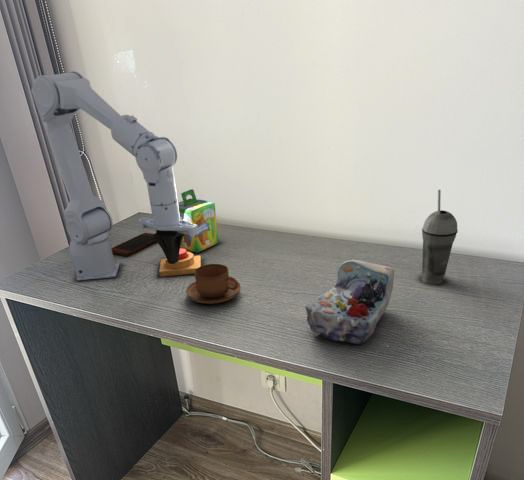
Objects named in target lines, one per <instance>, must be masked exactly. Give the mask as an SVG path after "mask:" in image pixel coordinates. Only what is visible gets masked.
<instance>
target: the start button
mask: <svg viewBox="0 0 524 480" xmlns="http://www.w3.org/2000/svg"><path fill="white" fill-rule="evenodd" d="M187 252H188V250H186V249H182V248H180V251H179V260H183V259H186V258H187Z"/></svg>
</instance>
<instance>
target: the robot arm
mask: <svg viewBox="0 0 524 480" xmlns="http://www.w3.org/2000/svg"><path fill="white" fill-rule="evenodd" d="M33 81H34V82H33V83H32V87H31V90H30V91H31V94H32V97H33V101H34V102H35V105H36V106H35V107H36V109H37V111H38V115H39V117H40V120H41V122H42V125H43V128H44V131H45V133H46V136H47V139H48V142H49V145H50V148H51V151H52V154H53V157H54V159H55V163H56V164H57V168H58V171H59V173H60V177H61V179H62V182H63V184H64V187H65V190H66V193H67V197H68V198H69V202H68V203H67V206H66V208H65V209H64V211H63V215H64V219H65V227H66V231H67V234H68V235H69V237H70V238H71V241H70V243H69V253H70V258H71V261H72V265H73V269H74V273H75V275H76V281H88V280H97V279H98V280H99V279H107V278H116V276H117V274H118V271H119V268H120V265H121V264H120V263H119V262H115V257H114V253H112V249H111V248H112V244H111V241H110V237H109V236H110V235H111V230H112V229H113V226H114V222H113V217H112V215H111V213H110V212H109V210H108V209H107V207H106V205H105V201H103V200H102V199H101V198H98V197H96V196H95V195H94V192H93V189H92V187H91V184H90V181H89V178H88V174H87V172H86V169H85V166H84V162H83V158H82V156H81V153H80V149H79V147H78V143H77V141H76V138H75V135H74V132H73V128H72V126H71V122H72V121H73V118H74V116H75V115H76V114H77V113H78V112H79V111H80V110H82V111H83V112H85V113H86V114H88V116H91V117H92V118H93V119H95V120H96V121H97V122H99V123H101V124H102V125H103V126H104V127H106V128H107V129H109V130H110V135H111V138H112V140H114V141H115V142H116V143H117V144H118V145H119V146H121V147H122V148H123V149H125V150H126V151H127V152H128V153H130V155H132V156H133V157H134V158H135V162H136V164H137V166H138V168H139V169H140V171H141V173H142V176H143V180H144V182H146V186H147V193H148V197H149V205H150V210H151V215H152V217H147V216H143V217H141V218H139V219H137V220H138V226H139V228H140V229H151V230H155V233H152V234H153V238H154V239H155V240H156V241H157V242H156V243H157V244H158V245H159V248H161V251H162V253H163V254H164V257H166V258H167V261H168V263H169V264H175V263H176V262H178V260H179V251H180V245H181V242H182V239H183V236H184V234H189V236H195V235H197V234H198V226H197V225H196V224H191V223H189V222H186V221H184V220H182V218H181V217H180V214H179V207H178V203H179V201H178V193H177V186H176V180H175V173H174V166H175V164H176V163H177V160H178V152H177V148H176V146H175V145H174V143H173V142H172V141H171V140H170V139H169V138H168V137H166V136H160V137H159V136H158V135H155V133H154V132H152V131H150V130H148V129H147V128H146V127H144V126H143V125H142V124H141V123H139V122H138V118H137V117H135V116H134V114H133V115H130V114H122V115H121V114H120V113H118V111H117V110H115V109H114V108H113V107H112V106H111V105H110V104H109V103H108V102H107V101H106V100H105V99H104V98H102V96H100V95H99V94H98V92H96V91H95V90H94V89H93V87H92V84H91V81H90V80H89V79H87V78H86V77H84V75H82V73H80V72H78V71H75V70H74V71H69V72H65V73H64V72H63V73H56V74H49V75H44V74H43V75H42V74H41V75H40V74H39V75H38V76H36V77H35V79H34V80H33Z"/></svg>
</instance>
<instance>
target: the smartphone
mask: <svg viewBox="0 0 524 480" xmlns="http://www.w3.org/2000/svg"><path fill="white" fill-rule="evenodd" d="M153 234H154V233H149V232H143V233H140V234H138V235H137V236H135V237H132V238H130V239H128V240H125V241H124V242H121V243H120V244H117V245H115V246H113V247H111V249H112V253H113V255H118V256H119V255H120V256H124V257H128V256H130V255H132V254H135V253H136V252H138V251H140V250H143V249H145V248H147V247H149V246H151V245H152V244H154V243H157V241H156V240H155V239H154V238H153Z"/></svg>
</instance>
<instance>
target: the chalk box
mask: <svg viewBox="0 0 524 480" xmlns="http://www.w3.org/2000/svg"><path fill="white" fill-rule="evenodd" d="M180 195H181V198H182V201H178V207H179V214H180V217H181V218H182V220H184V221H186V222H189V223H191V224H196V225H197V226H198V234H197V235H195V236H189V234H184V236H183V239H182V242H181V245H180V248H182V249H186V250H187V252H191V253H197V254H198V253H200V252H203V251H205V250H206V249H209V248H211V247H214V246H216V245H218V244H219V241H220V240H219V233H218V232H219V231H218V221H217V212H216V203H215V202H212V201H207V200H204V199H197V196H196V194H195V190H194V189H193V188H191V189H188V190H186V191H183V192H181V194H180ZM188 196H191V198H188V199H187V197H188Z"/></svg>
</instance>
